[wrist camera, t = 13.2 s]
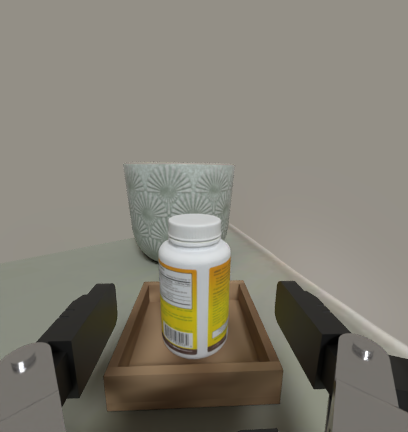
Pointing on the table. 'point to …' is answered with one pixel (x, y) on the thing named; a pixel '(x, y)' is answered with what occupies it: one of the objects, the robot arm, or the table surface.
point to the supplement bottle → (194, 286)
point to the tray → (192, 361)
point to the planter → (175, 197)
